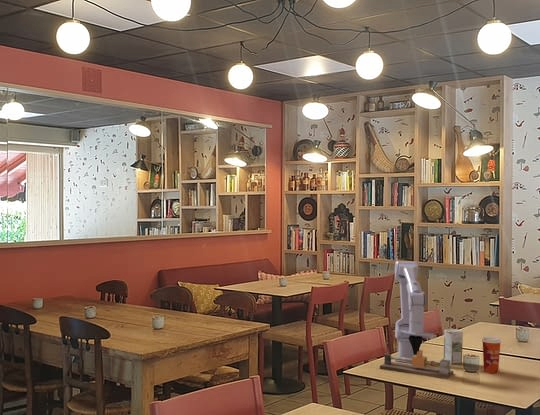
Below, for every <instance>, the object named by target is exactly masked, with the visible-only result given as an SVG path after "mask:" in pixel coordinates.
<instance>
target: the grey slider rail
mask: <svg viewBox="0 0 540 415" xmlns="http://www.w3.org/2000/svg"><path fill="white" fill-rule="evenodd" d="M392 360H394V361H395V360H401V361H408V362H412V359H411V358H404V357H398V355H397V356H395V355H392V354H391V353H386V354H384V362H383V364H381V365H379V369H380V370H387V371H392V372H393V371H394V372H399V373H405V374H413V375H420V376H426V377H431V378H432V377H433V378H438V379H445V380H446V379H448V378H449V377H451V376H452V375H454V370H452V369H451V364H450V360H446V359H444V358H443V359H441V360H439V361H435V360H431V361H430V360H427V361H425V360H424V364H427V366H426V367H424V368H422V367H415V366H412V364H411V363H404V362H397V361H395V362H394V361H392ZM428 365H430V366H433V367H429V366H428ZM435 366H437V367H439V368H435Z"/></svg>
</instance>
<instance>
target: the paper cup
mask: <svg viewBox="0 0 540 415" xmlns="http://www.w3.org/2000/svg"><path fill="white" fill-rule="evenodd" d="M481 342H482V358H483V360H482V361H483V372H484V373H487V374H498V373H499V367H500V366H499V364H500V354H501V343H502V341H501V339H500V337H495V336H483V338H482V339H481Z"/></svg>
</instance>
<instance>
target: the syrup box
mask: <svg viewBox="0 0 540 415" xmlns="http://www.w3.org/2000/svg"><path fill="white" fill-rule="evenodd" d="M443 335H444V338H443V339H444V340H443V359H446V360H450V365H461V364H463V341H464V339H463V338H464V331H463V330H460V329H458V328H452V329H451V328H449V329H446V328H445V329H444V334H443Z"/></svg>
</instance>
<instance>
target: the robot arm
mask: <svg viewBox="0 0 540 415" xmlns="http://www.w3.org/2000/svg"><path fill="white" fill-rule="evenodd" d="M419 267H420V266H419V263H418V261H417V260H415V261H406V260H405V261H402V260H401V261H400V260H396V261H395V263H394V278H395V281H397V282H398V283H399V289H400V290H399V295H400V297H399V298H400V312H401V313H400V317H401V318H400V319H398V320H397V321H396V322H395V328H394V336H395V339H396V340H398V349H397V350H398V351H397V352H398V353H397V354H398V355H397V357H404V358H411V359H412V357H413V356H415V355H417V351H419V350H420V348H421V345H422V343H423V341H424V339H430V340H434V339H435V333H432V332H431V333H430V332H427V331H424V321H425V319H424V315H425V314H424V312H425V309H424V308H425V307H426V305H427V304H426V303H427V302H426V300H427V298H426V297H427V296H426V293H425V291H423V290H422V287H421V284H420V281H418V280H417V277H418V275H419ZM394 361H395V362H399V363H406V364H412V362H408V361H401V360H394Z"/></svg>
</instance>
